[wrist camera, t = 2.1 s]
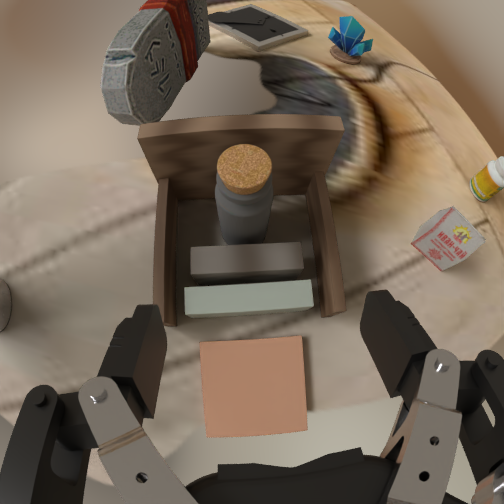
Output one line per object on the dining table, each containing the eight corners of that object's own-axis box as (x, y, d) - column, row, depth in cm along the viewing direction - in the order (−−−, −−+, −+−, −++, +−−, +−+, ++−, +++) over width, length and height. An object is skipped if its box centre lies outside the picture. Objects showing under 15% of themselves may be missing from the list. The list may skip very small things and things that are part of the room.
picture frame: (203, 25, 57) (258, 54, 52) (202, 16, 54) (258, 43, 49) (251, 9, 60) (307, 37, 56) (251, 2, 57) (308, 28, 53)
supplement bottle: (474, 174, 44) (501, 148, 35) (490, 195, 43) (518, 172, 34) (464, 185, 43) (493, 158, 34) (481, 207, 42) (512, 184, 33)
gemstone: (353, 70, 51) (367, 27, 40) (321, 50, 53) (331, 8, 41) (369, 61, 53) (384, 22, 41) (339, 43, 54) (350, 5, 43)
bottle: (275, 228, 39) (292, 163, 25) (245, 260, 37) (247, 207, 23) (242, 202, 40) (242, 128, 26) (212, 231, 38) (195, 167, 24)
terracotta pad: (207, 435, 30) (206, 437, 30) (200, 341, 34) (199, 341, 33) (305, 428, 31) (307, 430, 30) (299, 335, 35) (301, 335, 34)
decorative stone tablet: (175, -28, 33) (76, 71, 26) (208, -29, 32) (114, 68, 26) (188, 42, 51) (124, 146, 45) (216, 43, 51) (156, 151, 45)
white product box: (419, 226, 40) (456, 197, 30) (448, 253, 39) (488, 230, 29) (410, 243, 39) (448, 216, 29) (441, 271, 38) (482, 250, 28)
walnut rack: (164, 326, 35) (119, 313, 21) (167, 189, 40) (140, 124, 27) (333, 316, 36) (382, 297, 22) (314, 182, 41) (340, 116, 28)
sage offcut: (192, 318, 35) (185, 314, 31) (191, 294, 36) (184, 287, 32) (305, 310, 36) (313, 306, 32) (302, 287, 37) (310, 279, 33)
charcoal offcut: (198, 285, 36) (190, 274, 31) (198, 262, 37) (190, 247, 32) (294, 280, 37) (304, 268, 31) (292, 257, 38) (300, 241, 32)
